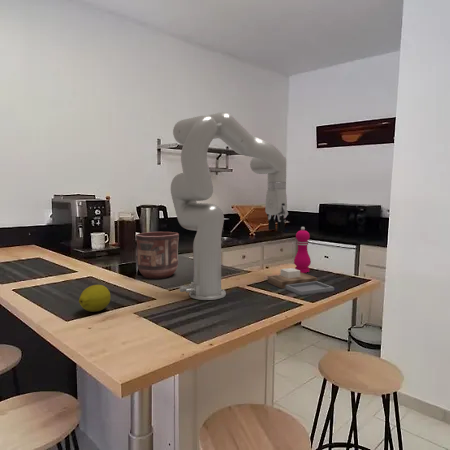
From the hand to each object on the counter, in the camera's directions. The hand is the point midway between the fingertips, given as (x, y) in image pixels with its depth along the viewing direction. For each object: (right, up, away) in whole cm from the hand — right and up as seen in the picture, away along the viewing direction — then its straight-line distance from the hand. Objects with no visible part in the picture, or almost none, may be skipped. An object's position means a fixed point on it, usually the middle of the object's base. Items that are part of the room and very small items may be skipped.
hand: (276, 230), depth 155 cm
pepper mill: (+13, -19, +12) cm, 26 cm away
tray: (+9, -21, -19) cm, 30 cm away
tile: (+4, -18, -8) cm, 20 cm away
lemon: (-60, -24, -42) cm, 77 cm away
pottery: (-50, -20, +5) cm, 53 cm away
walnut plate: (+5, -20, -9) cm, 23 cm away
